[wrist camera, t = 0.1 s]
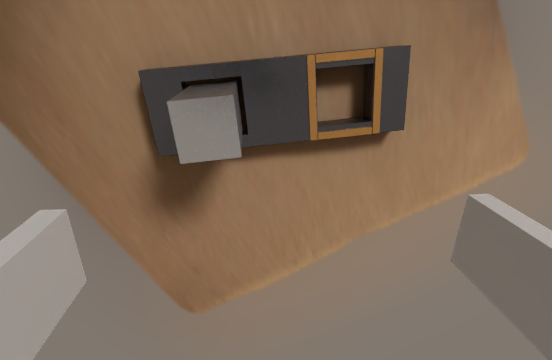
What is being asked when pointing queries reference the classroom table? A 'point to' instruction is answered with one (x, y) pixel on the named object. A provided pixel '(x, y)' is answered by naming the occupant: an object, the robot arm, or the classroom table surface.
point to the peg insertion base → (289, 95)
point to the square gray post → (207, 122)
